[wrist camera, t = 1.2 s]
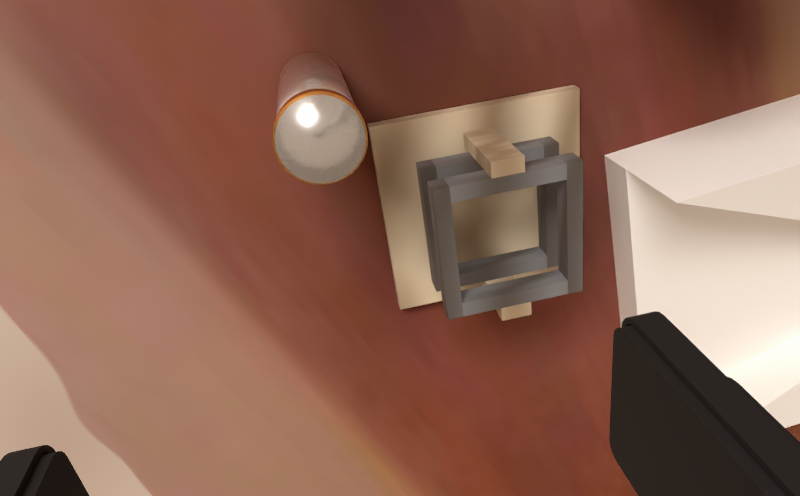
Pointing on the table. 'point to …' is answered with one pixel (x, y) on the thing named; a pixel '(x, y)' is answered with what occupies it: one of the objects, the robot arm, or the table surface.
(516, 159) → the collar stand
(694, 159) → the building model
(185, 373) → the table surface
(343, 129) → the steel tube
